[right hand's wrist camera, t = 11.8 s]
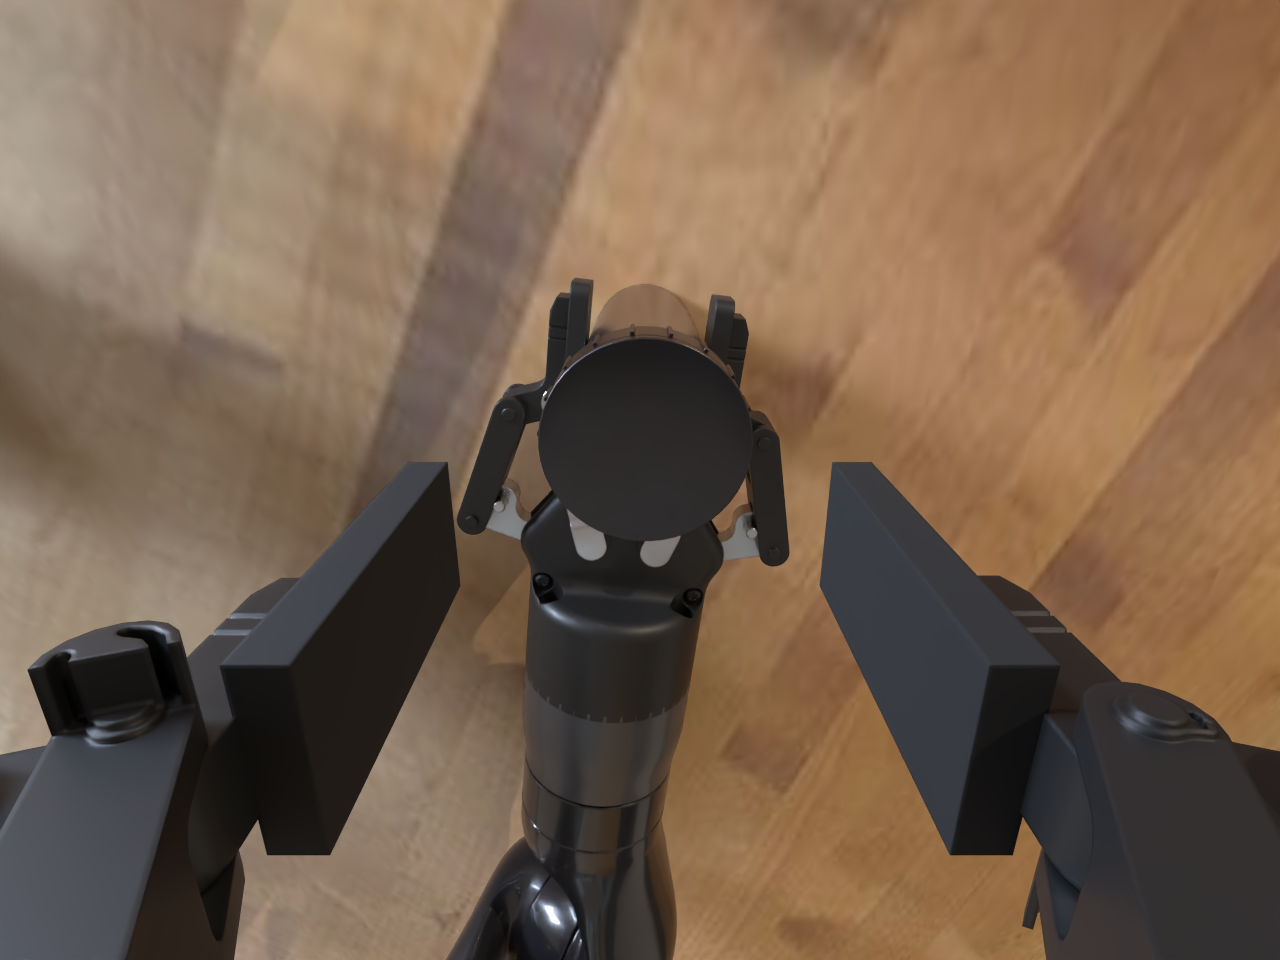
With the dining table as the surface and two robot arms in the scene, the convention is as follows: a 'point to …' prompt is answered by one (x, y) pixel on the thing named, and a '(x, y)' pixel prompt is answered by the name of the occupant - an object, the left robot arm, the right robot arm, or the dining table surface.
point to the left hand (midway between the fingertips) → (652, 291)
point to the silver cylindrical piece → (644, 311)
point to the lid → (645, 434)
